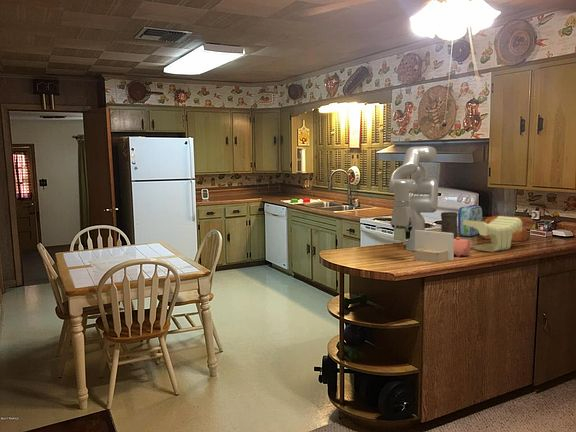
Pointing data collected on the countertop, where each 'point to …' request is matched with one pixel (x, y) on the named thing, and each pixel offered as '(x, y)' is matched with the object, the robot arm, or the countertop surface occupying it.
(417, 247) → the beige slab with panel
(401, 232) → the cabinet box
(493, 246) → the slatted curved stool
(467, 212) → the lunch box
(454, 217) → the beer stein
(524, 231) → the bread
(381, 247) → the countertop surface
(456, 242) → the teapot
